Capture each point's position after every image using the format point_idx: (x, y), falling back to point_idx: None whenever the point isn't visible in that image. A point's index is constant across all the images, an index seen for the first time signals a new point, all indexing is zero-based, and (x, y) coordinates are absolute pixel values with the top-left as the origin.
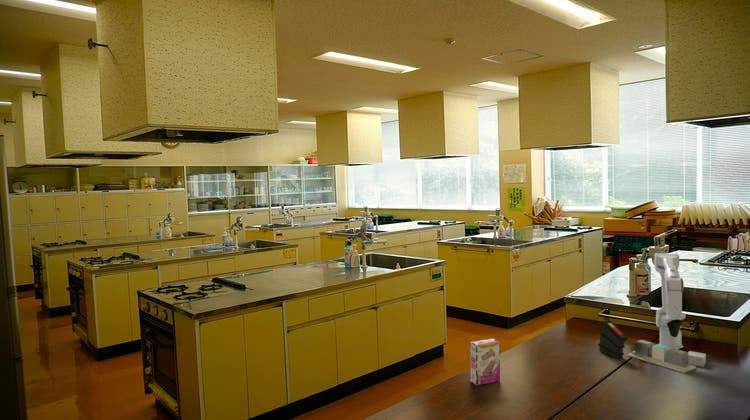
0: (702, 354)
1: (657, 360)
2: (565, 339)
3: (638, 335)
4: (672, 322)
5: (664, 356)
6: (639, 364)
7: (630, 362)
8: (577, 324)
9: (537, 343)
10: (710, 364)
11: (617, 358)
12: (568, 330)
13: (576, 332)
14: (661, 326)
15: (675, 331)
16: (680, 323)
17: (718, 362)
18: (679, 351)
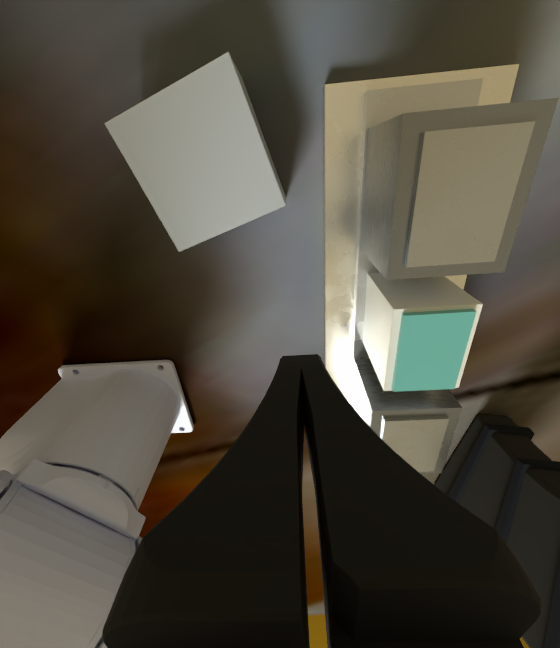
0: (149, 130)
1: None
2: None
3: (142, 511)
4: (508, 641)
5: (443, 280)
6: (524, 329)
7: (522, 366)
8: None
9: None
10: (141, 80)
11: (508, 418)
12: (322, 597)
13: (318, 584)
14: (127, 536)
15: (346, 406)
16: (296, 539)
17: (39, 73)
18: (465, 182)
